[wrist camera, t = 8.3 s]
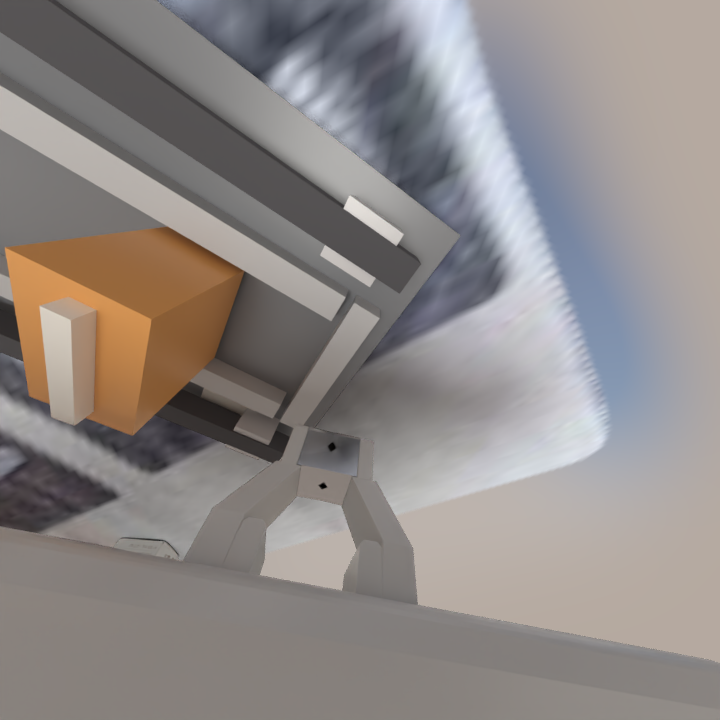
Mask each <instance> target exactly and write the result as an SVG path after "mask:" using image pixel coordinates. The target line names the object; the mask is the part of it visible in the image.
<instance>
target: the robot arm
mask: <svg viewBox="0 0 720 720" xmlns="http://www.w3.org/2000/svg"><path fill="white" fill-rule="evenodd" d="M373 453H374V442H373V441H372V440H367V439H363V438H359V437H354V436H349V435H344V434H339V433H333V432H329V431H325V430H321V429H316V428H312V427H308V426H303V425H299V424H296V425H295V427H294V429H293V431H292V434H291V436H290V439H289V441H288V444H287V446H286V449H285V451H284V454H283V456H282V459H281V461H275V462H274V463H272V464H271V465H270V466H268V467H267V468H266V469H264V470H263V471H262V472H260V473H259V474H257V475H256V476H255V477H253V478H252V479H251V480H249V481H248V482H247V483H245V484H244V485H243V486H241V487H240V488H239V489H237V490H236V491H235V492H233V493H232V494H231V495H229V496H228V497H227V498H225V499H224V500H223V501H221V502H220V503H219V504H217V505H216V506H215V507H213V508H212V510H211V512H210V514H209V515H208V517H207V519H206V521H205V523H204V524H203V526H202V528H201V530H200V531H199V533H198V535H197V537H196V538H195V540H194V542H193V544H192V546H191V547H190V549H189V551H188V553H187V554H186V556H185V558H184V560H183V561H182V560H176V559H171V558H166V557H160V556H155V555H150V554H144V553H139V552H134V551H128V550H123V549H118V548H112V547H107V546H102V545H96V544H91V543H86V542H80V541H75V540H70V539H64V538H59V537H54V536H48V535H43V534H38V533H32V532H27V531H22V530H16V529H11V528H6V527H0V720H720V663H718V662H715V661H712V660H708V659H703V658H697V657H693V656H687V655H682V654H676V653H671V652H666V651H660V650H655V649H650V648H645V647H639V646H634V645H629V644H623V643H618V642H613V641H607V640H602V639H596V638H591V637H586V636H581V635H575V634H570V633H564V632H559V631H554V630H549V629H543V628H538V627H533V626H528V625H522V624H517V623H511V622H506V621H501V620H496V619H490V618H484V617H480V616H474V615H469V614H464V613H458V612H453V611H448V610H442V609H437V608H432V607H426V606H421V605H418V602H417V590H416V579H415V566H414V554H413V547H412V545H411V544H410V542H409V540H408V538H407V536H406V534H405V533H404V531H403V529H402V527H401V526H400V524H399V522H398V520H397V518H396V516H395V515H394V513H393V511H392V509H391V507H390V505H389V504H388V502H387V500H386V498H385V496H384V495H383V493H382V491H381V489H380V487H379V485H378V484H377V482H376V481H372V478H373ZM296 496H299V497H305V498H310V499H316V500H321V501H325V502H330V503H334V504H338V505H342V508H343V511H344V514H345V517H346V520H347V523H348V526H349V529H350V532H351V534H352V538H353V541H354V543H355V546H356V549H357V551H356V552H355V555H354V556H353V558H352V560H351V562H350V564H349V566H348V569H347V570H346V572H345V574H344V581H343V589H342V591H341V590H336V589H331V588H325V587H320V586H315V585H309V584H304V583H298V582H293V581H288V580H282V579H277V578H272V577H267V576H261V575H260V572H261V569H262V566H263V563H264V559H265V540H266V529H267V527H268V526H269V525H270V524H271V523H272V522H273V521H274V520H275V519H276V518H277V517H278V516H279V515H280V514H281V513H282V512H283V511H284V510H285V509H286V508H287V506H288V505H289V504H290V503H291V502H292V501H293V500H294V499H295V498H296Z"/></svg>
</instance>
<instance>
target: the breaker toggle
mask: <svg viewBox="0 0 720 720" xmlns="http://www.w3.org/2000/svg"><path fill="white" fill-rule="evenodd" d="M5 252H6V258H7V264H8V270H9V276H10V282H11V288H12V294H13V301H14V307H15V313H16V319H17V325H18V331H19V337H20V343H21V349H22V355H23V361H24V367H25V373H26V379H27V385H28V391H29V396H30V397H32V398H35V399H38V400H40V401H43V402H46V403H48V404H50V409H51V417H52V418H55V419H57V420H60V421H63V422H66V423H68V424H71V425H74V426H75V425H76V424H78V423H79V422H80V421H82V420H83V419H84V418H87V419H90V420H93V421H95V422H98V423H101V424H103V425H106V426H108V427H111V428H114V429H116V430H119V431H121V432H124V433H127V434H129V435H132V436H133V435H134V434H135V433H136V432H137V431H138V430H139V429H140V428H141V427H142V426H143V425H144V424H145V423H147V422H148V421H149V420H150V419H151V418H152V417H153V416H154V415H155V414H156V413H157V412H158V411H159V410H160V409H161V408H162V407H163V406H164V405H165V404H166V403H167V402H168V401H170V400H171V399H172V398H173V397H174V396H175V395H176V394H177V393H178V392H179V391H180V390H181V389H182V388H183V387H184V386H185V385H186V384H187V383H188V382H189V381H190V380H191V379H193V378H194V377H195V376H196V375H197V374H198V373H199V372H200V371H201V370H202V369H203V368H204V367H205V366H206V365H207V364H208V363H209V362H210V361H211V360H212V359H213V358H214V357H215V355H216V352H217V349H218V346H219V343H220V340H221V337H222V335H223V332H224V329H225V326H226V323H227V320H228V317H229V314H230V312H231V309H232V306H233V303H234V300H235V297H236V294H237V291H238V289H239V286H240V283H241V280H242V277H243V274H244V270H242V269H240V268H239V267H237V266H235V265H233V264H232V263H230V262H228V261H226V260H225V259H223V258H221V257H220V256H218V255H216V254H214V253H213V252H211V251H209V250H207V249H206V248H204V247H202V246H201V245H199V244H197V243H195V242H194V241H192V240H190V239H189V238H187V237H185V236H183V235H182V234H180V233H178V232H176V231H175V230H173V229H171V228H170V227H160V228H152V229H144V230H137V231H129V232H121V233H113V234H105V235H97V236H90V237H82V238H74V239H66V240H58V241H50V242H43V243H35V244H27V245H19V246H11V247H5Z"/></svg>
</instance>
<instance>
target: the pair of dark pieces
mask: <svg viewBox="0 0 720 720" xmlns="http://www.w3.org/2000/svg"><path fill="white" fill-rule="evenodd" d="M0 32H1V33H2V34H4V35H5V36H7V37H8V38H10V39H11V40H13V41H14V42H16V43H18V44H19V45H21V46H22V47H24V48H25V49H27V50H28V51H30V52H31V53H33V54H34V55H36V56H37V57H39V58H40V59H42V60H43V61H45V62H47V63H48V64H50V65H51V66H53V67H54V68H56V69H57V70H59V71H60V72H62V73H63V74H65V75H66V76H68V77H69V78H71V79H72V80H74V81H76V82H77V83H79V84H80V85H82V86H83V87H85V88H86V89H88V90H89V91H91V92H92V93H94V94H95V95H97V96H98V97H100V98H101V99H103V100H105V101H106V102H108V103H109V104H111V105H112V106H114V107H115V108H117V109H118V110H120V111H121V112H123V113H124V114H126V115H127V116H129V117H130V118H132V119H134V120H135V121H137V122H138V123H140V124H141V125H143V126H144V127H146V128H147V129H149V130H150V131H152V132H153V133H155V134H156V135H158V136H159V137H161V138H163V139H164V140H166V141H167V142H169V143H170V144H172V145H173V146H175V147H176V148H178V149H179V150H181V151H182V152H184V153H185V154H187V155H188V156H190V157H192V158H193V159H195V160H196V161H198V162H199V163H201V164H202V165H204V166H205V167H207V168H208V169H210V170H211V171H213V172H214V173H216V174H217V175H219V176H220V177H222V178H224V179H225V180H227V181H228V182H230V183H231V184H233V185H234V186H236V187H237V188H239V189H240V190H242V191H243V192H245V193H246V194H248V195H249V196H251V197H253V198H254V199H256V200H257V201H259V202H260V203H262V204H263V205H265V206H266V207H268V208H269V209H271V210H272V211H274V212H275V213H277V214H278V215H280V216H282V217H283V218H285V219H286V220H288V221H289V222H291V223H292V224H294V225H295V226H297V227H298V228H300V229H301V230H303V231H304V232H306V233H307V234H309V235H311V236H312V237H314V238H315V239H317V240H318V241H320V242H321V243H323V244H324V245H326V246H327V247H329V248H330V249H332V250H333V251H335V252H336V253H338V254H340V255H341V256H343V257H344V258H346V259H347V260H349V261H350V262H352V263H353V264H355V265H356V266H358V267H359V268H361V269H362V270H364V271H365V272H367V273H369V274H370V275H372V276H373V277H375V278H376V279H378V280H379V281H381V282H382V283H384V284H385V285H387V286H388V287H390V288H391V289H393V290H394V291H396V292H398V293H399V294H400V293H401V291H402V290H403V289H404V287H405V286H406V284H407V283H408V282H409V280H410V279H411V277H412V276H413V275H414V273H415V272H416V271H417V269H418V268H419V266H420V265H421V263H420V261H419V260H418V258H417V257H416V256H415V255H413V254H412V253H411V252H409V251H408V250H406V249H405V248H403V247H402V246H401V245H399V244H397V246H396V245H394V244H393V243H392V242H390V241H389V240H387V239H386V238H384V237H383V236H382V235H380V234H379V233H377V232H376V231H375V230H373V229H372V228H370V227H369V226H367V225H366V224H365V223H363V222H362V221H360V220H359V219H358V218H356V217H355V216H353V215H352V214H350V213H349V212H348V211H346V210H345V209H343V208H344V205H343V204H342V203H340V202H339V201H337V200H336V199H335V198H333V197H332V196H330V195H329V194H327V193H326V192H325V191H323V190H322V189H320V188H319V187H318V186H316V185H315V184H313V183H312V182H311V181H309V180H308V179H306V178H305V177H304V176H302V175H301V174H299V173H298V172H297V171H295V170H294V169H292V168H291V167H289V166H288V165H287V164H285V163H284V162H282V161H281V160H280V159H278V158H277V157H275V156H274V155H273V154H271V153H270V152H268V151H267V150H266V149H264V148H263V147H261V146H260V145H259V144H257V143H256V142H254V141H253V140H251V139H250V138H249V137H247V136H246V135H244V134H243V133H242V132H240V131H239V130H237V129H236V128H235V127H233V126H232V125H230V124H229V123H228V122H226V121H225V120H223V119H222V118H220V117H219V116H218V115H216V114H215V113H213V112H212V111H211V110H209V109H208V108H206V107H205V106H204V105H202V104H201V103H199V102H198V101H197V100H195V99H194V98H192V97H191V96H190V95H188V94H187V93H185V92H184V91H182V90H181V89H180V88H178V87H177V86H175V85H174V84H173V83H171V82H170V81H168V80H167V79H166V78H164V77H163V76H161V75H160V74H159V73H157V72H156V71H154V70H153V69H152V68H150V67H149V66H147V65H146V64H144V63H143V62H142V61H140V60H139V59H137V58H136V57H135V56H133V55H132V54H130V53H129V52H128V51H126V50H125V49H123V48H122V47H121V46H119V45H118V44H116V43H115V42H114V41H112V40H111V39H109V38H108V37H106V36H105V35H104V34H102V33H101V32H99V31H98V30H97V29H95V28H94V27H92V26H91V25H90V24H88V23H87V22H85V21H84V20H83V19H81V18H80V17H78V16H77V15H76V14H74V13H73V12H71V11H70V10H68V9H67V8H66V7H64V6H63V5H61V4H60V3H59V2H57V1H56V0H0ZM0 352H1V353H4V354H6V355H9V356H11V357H14V358H16V359H18V360H21V361H23V355H22V349H21V343H20V337H19V331H18V325H17V319H16V316H15V315H13V314H11V313H8V312H6V311H4V310H2V309H0ZM23 362H24V361H23ZM155 415H156V416H158V417H161V418H163V419H166V420H168V421H171V422H173V423H176V424H178V425H180V426H183V427H185V428H188V429H190V430H193V431H195V432H198V433H200V434H203V435H205V436H207V437H210V438H212V439H215V440H217V441H220V442H222V443H225V444H227V445H230V446H232V447H234V448H237V449H239V450H242V451H244V452H247V453H249V454H252V455H254V456H257V457H259V458H261V459H264V460H266V461H269V462H271V463H274V462H275V461H279V460H280V459H281V457H282V456H283V454H284V451H285V449H286V446H287V444H288V441H289V439H290V436H287V435H285V434H283V433H281V432H278V431H276V430H275V433H274V435H273V437H272V439H271V441H270V443H269V445H266V444H264V443H262V442H259V441H257V440H255V439H252V438H250V437H247V436H245V435H243V434H240V433H238V432H236V431H233V430H234V428H235V426H236V424H237V423H238V421H239V420H240V418H241V416H242V415H240V414H238V413H235V412H233V411H231V410H228V409H226V408H224V407H222V406H219V405H217V404H215V403H213V402H210V401H208V400H206V399H203V398H201V397H199V396H197V395H194V394H192V393H190V392H188V391H185V390H183V389H181V390H180V391H179V392H178V393H177V394H176V395H175V396H174V397H173V398H172V399H171V400H170V401H168V402H167V403H166V404H165V405H164V406H163V407H162V408H161V409H160V410H159V411H158V412H157V413H156V414H155Z"/></svg>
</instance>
